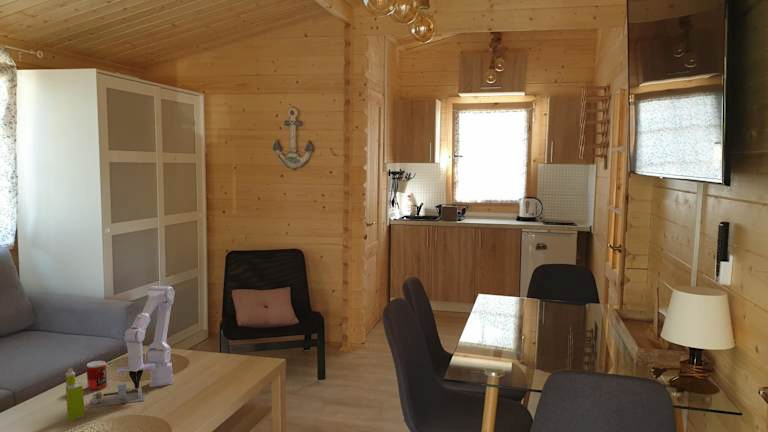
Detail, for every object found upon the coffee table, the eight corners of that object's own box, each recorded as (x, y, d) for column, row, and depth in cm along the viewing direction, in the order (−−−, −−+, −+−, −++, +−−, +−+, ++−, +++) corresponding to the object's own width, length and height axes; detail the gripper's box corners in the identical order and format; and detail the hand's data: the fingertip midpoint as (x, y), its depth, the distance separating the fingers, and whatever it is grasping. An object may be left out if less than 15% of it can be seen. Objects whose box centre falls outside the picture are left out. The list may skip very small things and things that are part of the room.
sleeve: (127, 394, 246) (126, 382, 245) (126, 397, 243) (125, 385, 242) (119, 395, 245) (118, 383, 244) (118, 398, 242) (117, 386, 241)
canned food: (99, 391, 253) (98, 366, 252) (83, 390, 255) (82, 365, 254) (111, 384, 261) (109, 361, 260) (95, 383, 262) (94, 360, 261)
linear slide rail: (145, 392, 251) (144, 382, 251) (144, 400, 242) (143, 391, 242) (91, 399, 244) (91, 389, 244) (88, 408, 235) (87, 398, 235)
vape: (66, 418, 226) (62, 368, 225) (81, 413, 231) (78, 364, 229) (69, 420, 224) (66, 371, 222) (85, 415, 228) (82, 366, 227)
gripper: (115, 361, 238) (117, 393, 239) (153, 357, 243) (155, 388, 244) (117, 356, 245) (119, 387, 246) (154, 352, 249) (155, 382, 251)
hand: (137, 387), depth 245 cm, fingers closed
